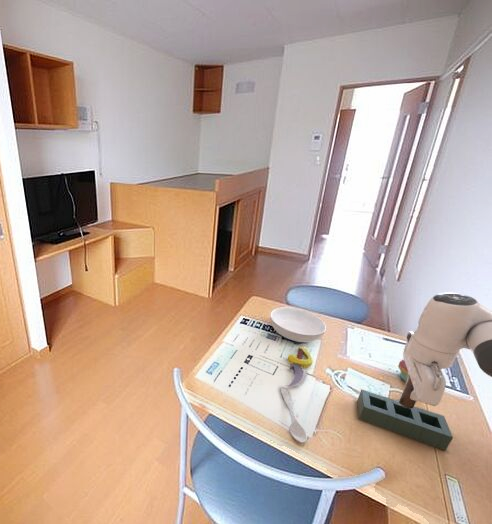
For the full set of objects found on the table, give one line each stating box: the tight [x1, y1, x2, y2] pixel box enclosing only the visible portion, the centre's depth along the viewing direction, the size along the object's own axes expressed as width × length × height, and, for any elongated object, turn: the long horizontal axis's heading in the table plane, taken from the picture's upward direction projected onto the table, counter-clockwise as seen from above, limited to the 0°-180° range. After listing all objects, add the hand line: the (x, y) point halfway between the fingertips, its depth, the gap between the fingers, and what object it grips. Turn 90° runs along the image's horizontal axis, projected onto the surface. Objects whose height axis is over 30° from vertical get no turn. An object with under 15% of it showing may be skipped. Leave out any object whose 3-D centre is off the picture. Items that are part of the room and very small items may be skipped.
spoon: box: [280, 387, 308, 444], centre depth 90 cm, size 4×21×2 cm, turn 169°
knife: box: [286, 345, 314, 388], centre depth 107 cm, size 8×3×25 cm
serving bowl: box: [269, 306, 327, 343], centre depth 126 cm, size 21×21×7 cm
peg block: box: [356, 389, 454, 451], centre depth 87 cm, size 19×8×5 cm, turn 60°
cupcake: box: [397, 359, 408, 383], centre depth 101 cm, size 9×8×12 cm
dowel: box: [398, 377, 417, 408], centre depth 83 cm, size 3×3×10 cm
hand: (411, 392), depth 83 cm, fingers closed on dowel, 3 cm apart
